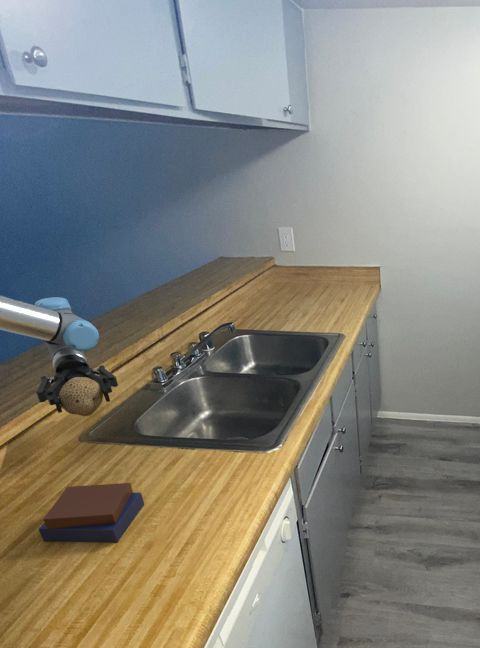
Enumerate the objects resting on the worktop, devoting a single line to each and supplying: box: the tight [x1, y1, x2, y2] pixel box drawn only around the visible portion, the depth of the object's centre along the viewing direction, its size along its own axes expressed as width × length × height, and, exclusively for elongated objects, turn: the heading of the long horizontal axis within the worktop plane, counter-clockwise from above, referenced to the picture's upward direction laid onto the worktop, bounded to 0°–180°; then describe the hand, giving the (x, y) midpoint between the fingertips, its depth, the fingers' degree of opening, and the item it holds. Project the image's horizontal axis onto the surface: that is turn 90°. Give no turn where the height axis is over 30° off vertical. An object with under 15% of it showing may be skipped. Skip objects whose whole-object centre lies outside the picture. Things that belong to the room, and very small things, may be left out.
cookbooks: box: [38, 482, 145, 543], centre depth 94 cm, size 14×11×6 cm
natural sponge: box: [58, 377, 104, 417], centre depth 111 cm, size 9×9×10 cm
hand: (83, 401), depth 108 cm, fingers closed on natural sponge, 9 cm apart
